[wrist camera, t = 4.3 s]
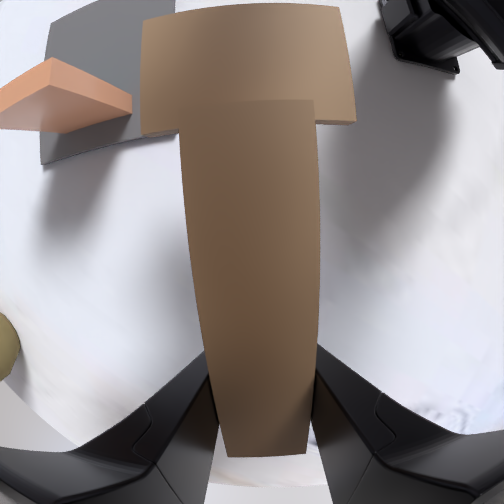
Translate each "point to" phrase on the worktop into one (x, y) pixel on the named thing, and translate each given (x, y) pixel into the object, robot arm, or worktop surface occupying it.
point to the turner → (252, 196)
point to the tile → (59, 99)
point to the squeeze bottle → (7, 346)
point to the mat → (102, 66)
